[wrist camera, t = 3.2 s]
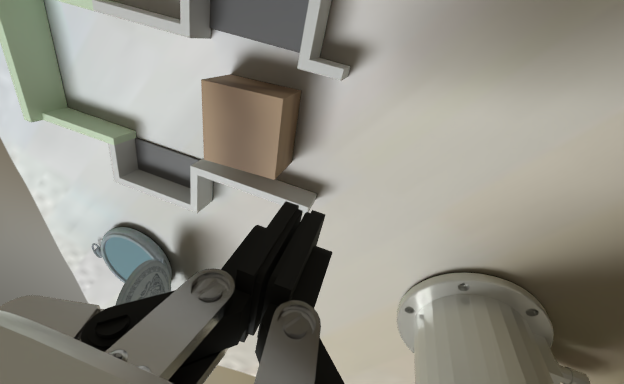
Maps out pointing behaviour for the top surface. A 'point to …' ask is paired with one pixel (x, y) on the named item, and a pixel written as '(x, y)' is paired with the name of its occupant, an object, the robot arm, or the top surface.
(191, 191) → the box
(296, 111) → the walnut block
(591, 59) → the top surface
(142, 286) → the pocket watch
